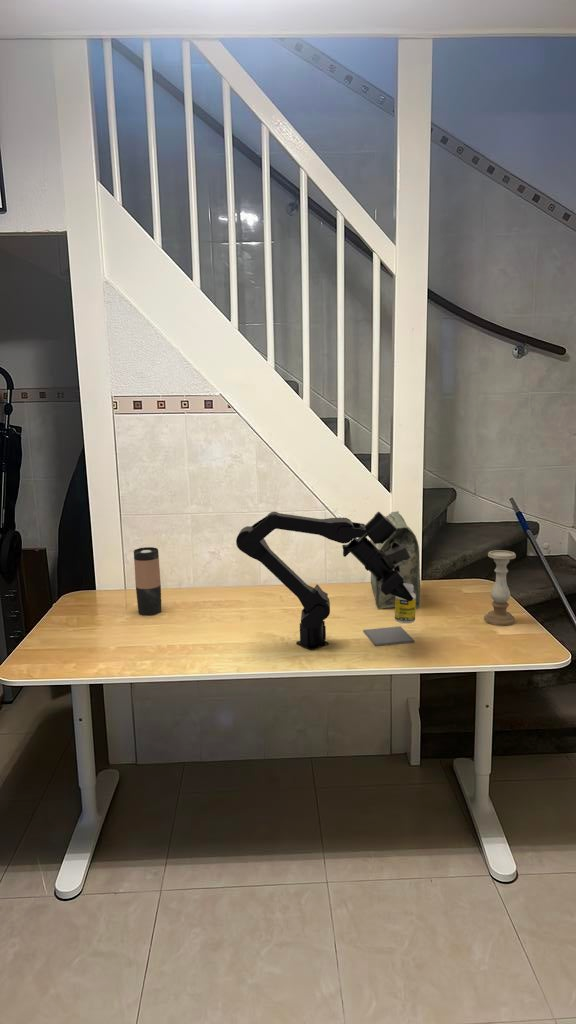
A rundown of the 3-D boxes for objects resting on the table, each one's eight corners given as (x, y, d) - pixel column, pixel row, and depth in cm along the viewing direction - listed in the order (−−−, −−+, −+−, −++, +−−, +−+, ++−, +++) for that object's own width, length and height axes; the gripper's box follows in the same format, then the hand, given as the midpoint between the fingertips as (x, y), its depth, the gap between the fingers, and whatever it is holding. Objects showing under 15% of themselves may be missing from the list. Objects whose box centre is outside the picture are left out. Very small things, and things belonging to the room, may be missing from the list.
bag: (366, 588, 235) (365, 509, 230) (413, 588, 234) (414, 509, 229) (371, 610, 213) (371, 523, 208) (424, 610, 212) (425, 522, 207)
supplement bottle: (397, 624, 181) (398, 588, 179) (392, 617, 186) (393, 582, 185) (417, 623, 182) (418, 587, 180) (412, 617, 187) (413, 582, 185)
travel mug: (165, 608, 220) (161, 547, 216) (158, 616, 213) (154, 553, 209) (141, 607, 221) (137, 547, 217) (134, 615, 213) (129, 553, 210)
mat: (375, 646, 184) (375, 643, 184) (363, 631, 195) (363, 629, 195) (414, 642, 186) (414, 640, 186) (400, 628, 197) (400, 626, 197)
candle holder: (518, 626, 196) (521, 557, 192) (487, 626, 197) (489, 557, 193) (511, 615, 205) (513, 549, 201) (481, 615, 205) (482, 549, 202)
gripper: (395, 543, 171) (439, 586, 172) (388, 527, 189) (427, 566, 191) (363, 573, 173) (406, 616, 174) (359, 555, 191) (398, 593, 192)
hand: (410, 596), depth 183 cm, fingers closed on supplement bottle, 5 cm apart
